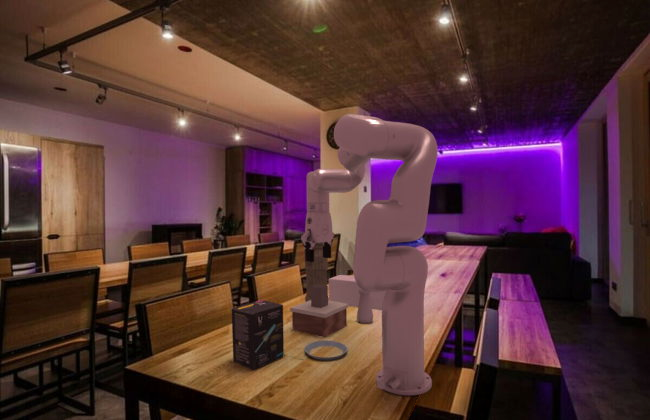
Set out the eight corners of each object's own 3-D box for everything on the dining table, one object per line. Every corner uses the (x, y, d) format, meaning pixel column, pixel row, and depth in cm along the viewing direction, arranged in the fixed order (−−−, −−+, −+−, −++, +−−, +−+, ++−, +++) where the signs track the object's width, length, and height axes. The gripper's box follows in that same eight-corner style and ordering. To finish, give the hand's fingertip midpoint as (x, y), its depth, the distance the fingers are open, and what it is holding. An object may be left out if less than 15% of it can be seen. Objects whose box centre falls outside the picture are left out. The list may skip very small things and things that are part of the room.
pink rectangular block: (409, 306, 148) (408, 280, 148) (401, 313, 139) (400, 285, 139) (340, 298, 164) (340, 274, 164) (328, 303, 155) (328, 278, 155)
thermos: (298, 317, 136) (297, 224, 136) (315, 309, 146) (313, 222, 146) (318, 320, 131) (317, 224, 131) (334, 312, 142) (333, 223, 142)
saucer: (354, 353, 102) (354, 345, 101) (332, 369, 92) (332, 360, 92) (320, 345, 108) (320, 337, 108) (296, 359, 98) (295, 350, 98)
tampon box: (262, 349, 105) (261, 299, 105) (285, 357, 99) (284, 303, 99) (231, 361, 97) (230, 307, 97) (253, 371, 91) (252, 313, 91)
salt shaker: (372, 326, 123) (372, 288, 123) (356, 325, 124) (355, 288, 124) (373, 321, 129) (373, 285, 129) (357, 320, 130) (357, 284, 130)
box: (324, 339, 112) (324, 317, 112) (292, 332, 119) (292, 311, 119) (346, 328, 122) (346, 307, 122) (315, 321, 130) (315, 302, 130)
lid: (324, 318, 111) (324, 293, 111) (290, 311, 119) (289, 287, 119) (348, 307, 122) (348, 284, 122) (315, 301, 130) (315, 280, 130)
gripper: (311, 208, 111) (312, 264, 112) (341, 208, 126) (342, 257, 126) (292, 209, 116) (293, 262, 116) (323, 208, 130) (324, 255, 130)
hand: (318, 259), depth 121 cm, fingers open, 9 cm apart
